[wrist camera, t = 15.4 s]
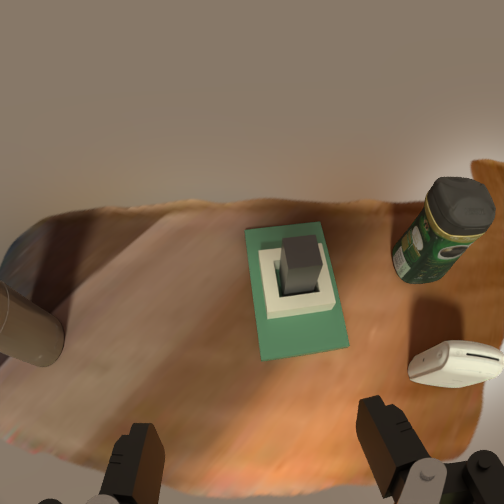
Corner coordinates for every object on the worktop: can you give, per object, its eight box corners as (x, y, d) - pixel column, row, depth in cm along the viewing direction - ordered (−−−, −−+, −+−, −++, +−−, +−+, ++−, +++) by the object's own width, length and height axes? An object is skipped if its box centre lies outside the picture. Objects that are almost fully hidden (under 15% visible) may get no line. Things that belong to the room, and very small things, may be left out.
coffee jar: (433, 240, 49) (484, 170, 33) (445, 282, 46) (509, 220, 29) (385, 243, 49) (429, 166, 33) (396, 288, 46) (453, 221, 29)
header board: (261, 361, 41) (261, 356, 38) (244, 234, 51) (243, 219, 47) (347, 347, 42) (355, 340, 38) (319, 225, 51) (322, 210, 48)
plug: (283, 300, 44) (288, 269, 35) (277, 269, 47) (281, 232, 38) (311, 296, 44) (323, 264, 36) (304, 265, 47) (314, 228, 38)
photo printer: (404, 382, 39) (448, 368, 28) (409, 354, 41) (452, 331, 30) (460, 391, 37) (510, 377, 26) (463, 364, 39) (512, 344, 28)
